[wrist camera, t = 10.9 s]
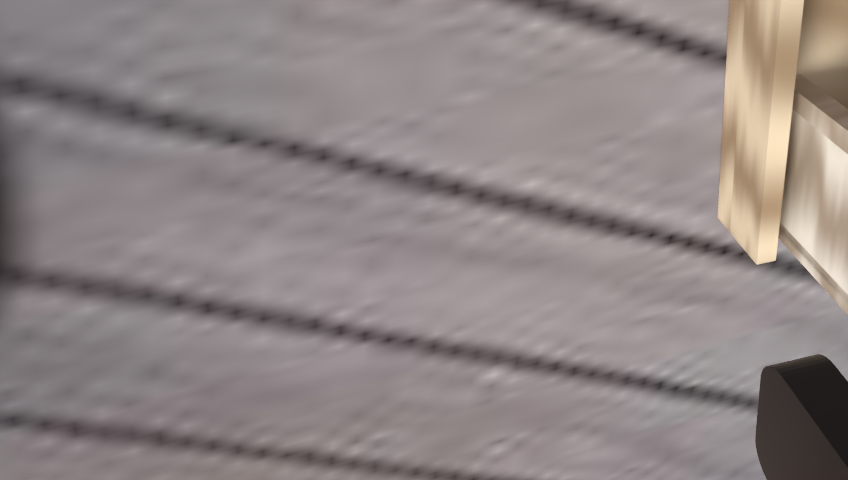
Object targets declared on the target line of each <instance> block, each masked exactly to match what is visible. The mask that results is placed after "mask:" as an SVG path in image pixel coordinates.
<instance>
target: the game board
mask: <svg viewBox="0 0 848 480" xmlns="http://www.w3.org/2000/svg"><path fill="white" fill-rule="evenodd" d="M718 218H719V220H720V221H721V222H722V223H723V224H724V226H725V227H726V228H727V229H728V230H729V232H730V233H731V234H732V235H733V237H734V238H735V239H736V240H737V241H738V243H739V244H740V245H741V246H742V247H743V249H744V250H745V251H746V252H747V254H748V255H749V256H750V257H751V258H752V260H753V261H754V262H755V263H756V264H762V263H766V262H771V261H775V260H776V254H777V244H778V238H779V239H780V240H781V241H782V243H783V244H784V245H785V246H786V247H787V248H788V249H789V250H790V251H791V253H792V254H793V255H794V256H795V257H796V258H797V259H798V260H799V261H800V262H801V264H802V265H803V266H804V267H805V268H806V269H807V270H808V271H809V272H810V274H811V275H812V276H813V277H814V278H815V279H816V280H817V281H818V282H819V283H820V285H821V286H822V287H823V288H824V289H825V290H826V291H827V292H828V293H829V295H830V296H831V297H832V298H833V299H834V300H835V301H836V302H837V303H838V305H839V306H840V307H841V308H842V309H843V310H844V311H845V312H846V313H847V314H848V0H730V6H729V24H728V42H727V60H726V78H725V96H724V114H723V132H722V150H721V168H720V186H719V204H718Z"/></svg>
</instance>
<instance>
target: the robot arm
mask: <svg viewBox="0 0 848 480" xmlns="http://www.w3.org/2000/svg"><path fill="white" fill-rule="evenodd" d="M756 449H757V454H758V458H759V461H760V464H761V467H762V470H763V472H764V474H765V476H766V479H767V480H848V381H847V380H846V379H845V378H844V376H843V375H842V374H841V373H840V372H839V370H838V369H837V368H836V367H835V365H834V364H833V363H832V362H831V361H830V360H829V359H828V358H826V357H825V356H823V355H820V354H819V355H813V356H809V357H805V358H800V359H796V360H792V361H787V362H783V363H779V364H775V365H770V366H766V367H765V368H764V369H763V371H762V373H761V381H760V392H759V404H758V415H757V426H756Z"/></svg>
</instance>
